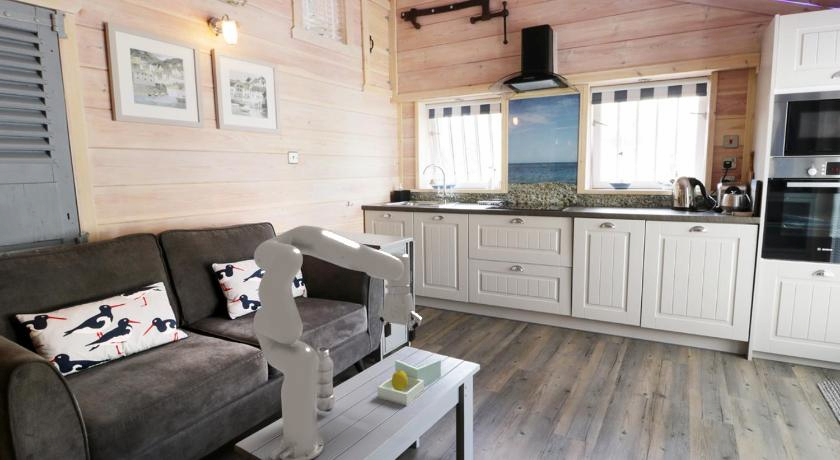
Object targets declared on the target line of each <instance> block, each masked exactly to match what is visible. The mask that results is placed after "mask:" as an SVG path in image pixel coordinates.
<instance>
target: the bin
mask: <svg viewBox="0 0 840 460" xmlns="http://www.w3.org/2000/svg"><path fill="white" fill-rule="evenodd" d="M407 379H408V384H407V387H406V388H405V390H403V391H397V390H395V389H394V388H393V386H392V377H390V378H388V379H387V380H385V381H384V382H383V383H381V384H380V385H378V386H377V398H378V399H381V400H385V401H387V402H392V403H396V404H399V405H402V406H406V407H407V406H408V405H409V406H410V404H412V402H413V401H415V400H416V399H417V398H418V397H419V396H420V395H422V394H423V393H424V392H425V386H424V380H419V379H415V378H411V377H407Z"/></svg>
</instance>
